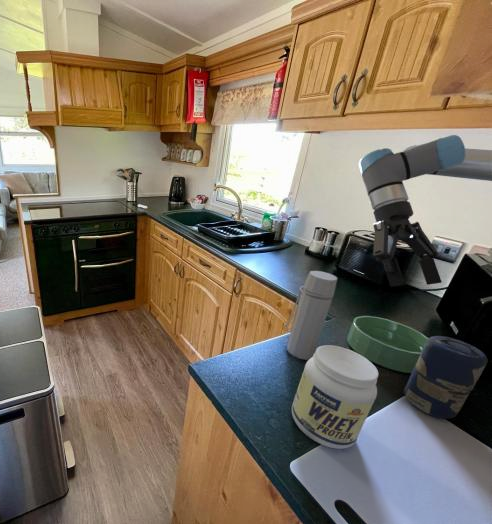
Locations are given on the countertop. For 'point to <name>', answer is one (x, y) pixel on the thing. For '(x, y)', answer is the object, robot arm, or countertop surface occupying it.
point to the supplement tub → (335, 396)
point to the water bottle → (310, 314)
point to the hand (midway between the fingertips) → (416, 284)
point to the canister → (444, 376)
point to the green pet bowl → (386, 342)
